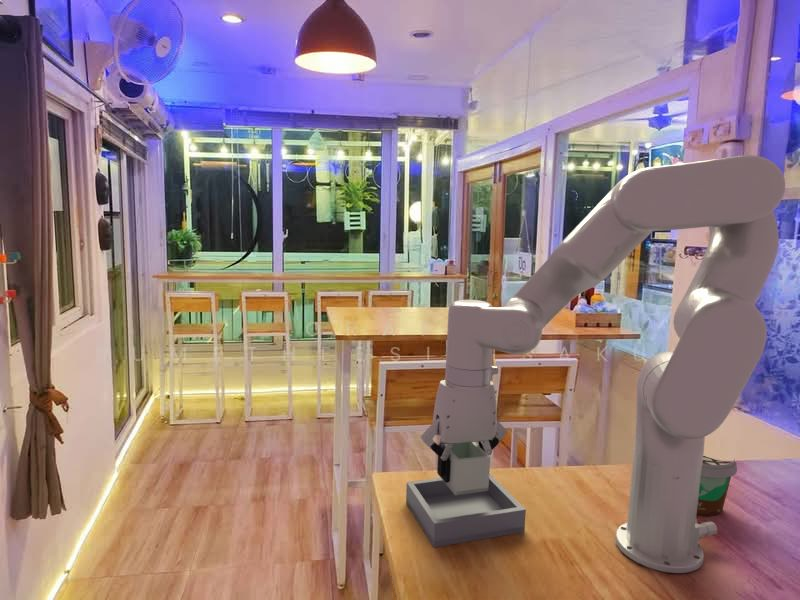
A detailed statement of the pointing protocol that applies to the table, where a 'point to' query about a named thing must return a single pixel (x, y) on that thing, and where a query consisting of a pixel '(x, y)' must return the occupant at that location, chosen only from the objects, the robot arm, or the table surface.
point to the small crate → (468, 469)
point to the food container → (714, 486)
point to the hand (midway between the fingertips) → (462, 475)
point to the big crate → (463, 512)
